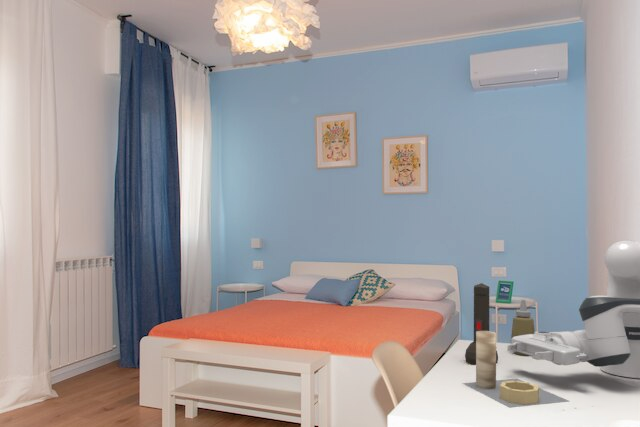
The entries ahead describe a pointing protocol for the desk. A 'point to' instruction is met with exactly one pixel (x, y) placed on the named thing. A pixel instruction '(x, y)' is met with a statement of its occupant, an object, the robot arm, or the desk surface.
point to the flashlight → (479, 319)
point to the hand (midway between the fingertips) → (521, 352)
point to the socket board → (496, 394)
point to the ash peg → (486, 359)
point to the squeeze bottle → (522, 323)
